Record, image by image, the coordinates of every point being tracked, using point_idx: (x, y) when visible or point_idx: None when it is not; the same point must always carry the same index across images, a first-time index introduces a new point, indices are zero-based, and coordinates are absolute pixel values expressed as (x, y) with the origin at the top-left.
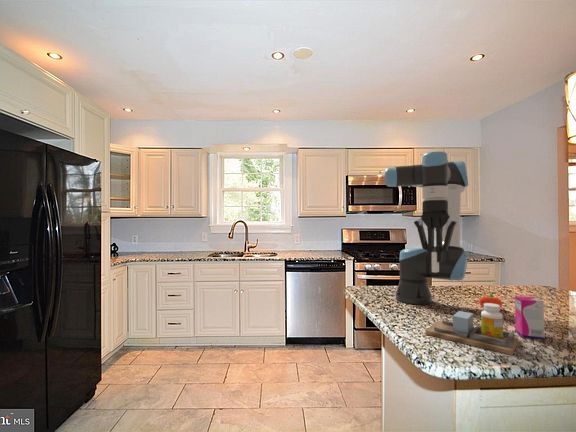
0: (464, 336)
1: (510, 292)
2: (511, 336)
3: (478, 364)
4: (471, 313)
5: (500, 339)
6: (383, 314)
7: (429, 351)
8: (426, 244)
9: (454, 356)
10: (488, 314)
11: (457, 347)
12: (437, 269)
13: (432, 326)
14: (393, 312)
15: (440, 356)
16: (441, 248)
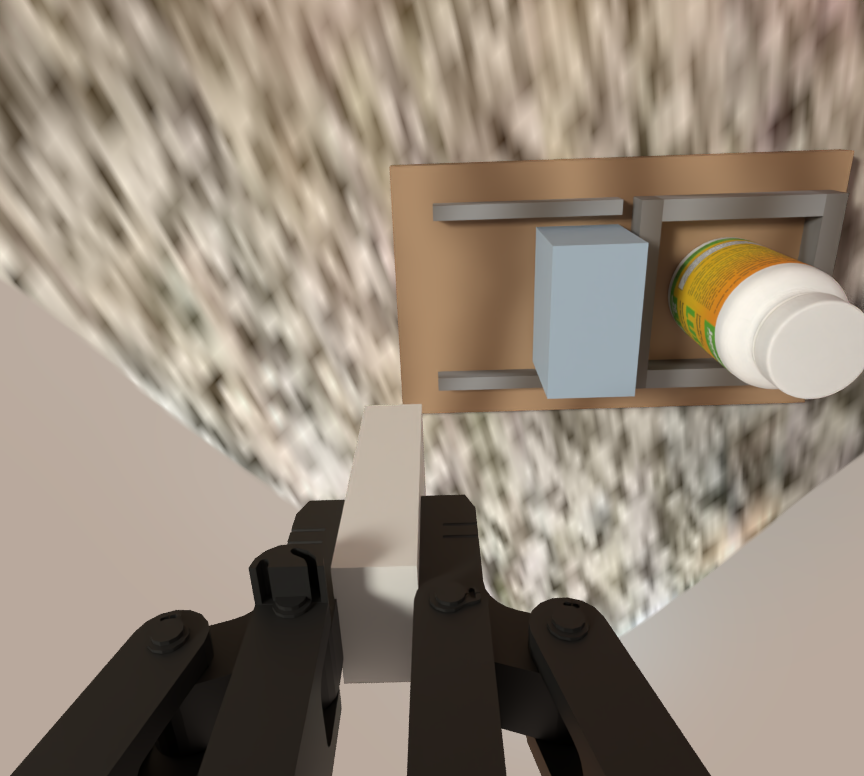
0: None
1: None
2: None
3: (671, 569)
4: (638, 250)
5: None
6: (31, 228)
7: (492, 577)
8: (158, 704)
9: (584, 559)
10: (769, 386)
11: (575, 464)
12: (423, 477)
13: (406, 321)
14: (38, 121)
15: (540, 592)
16: (502, 715)
